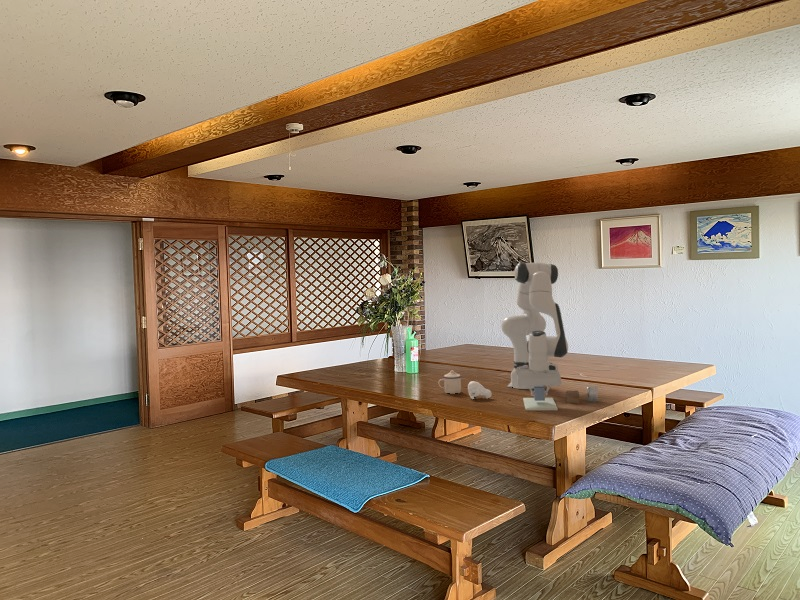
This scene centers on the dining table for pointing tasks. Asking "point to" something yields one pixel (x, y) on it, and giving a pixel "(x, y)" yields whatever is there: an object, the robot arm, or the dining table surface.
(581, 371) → the dining table surface
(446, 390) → the teacup with lid
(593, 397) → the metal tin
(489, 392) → the white figurine
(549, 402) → the sage board
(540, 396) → the slate blue block
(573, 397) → the walnut block
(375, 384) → the dining table surface
